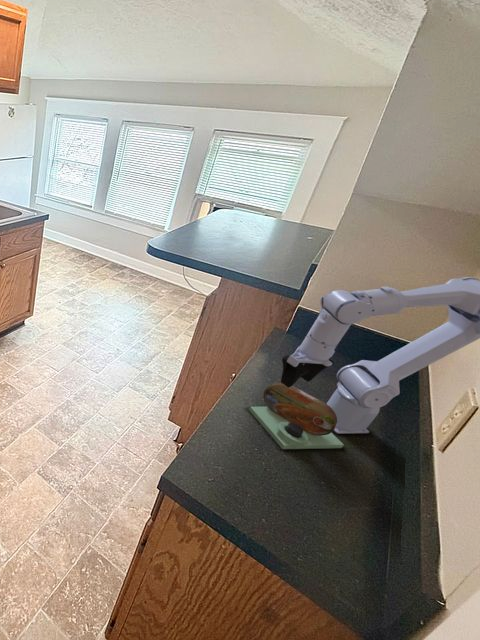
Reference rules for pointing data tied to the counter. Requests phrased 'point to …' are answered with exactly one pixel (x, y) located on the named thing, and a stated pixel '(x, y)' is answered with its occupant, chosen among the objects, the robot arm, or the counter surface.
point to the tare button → (294, 430)
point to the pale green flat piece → (286, 441)
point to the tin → (300, 409)
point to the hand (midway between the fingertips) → (295, 381)
